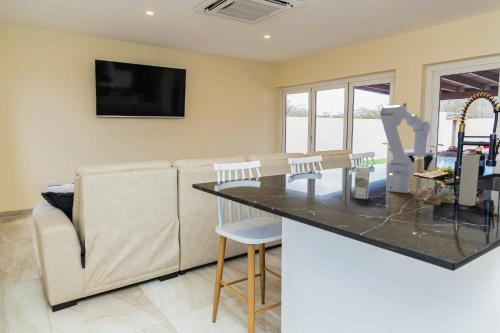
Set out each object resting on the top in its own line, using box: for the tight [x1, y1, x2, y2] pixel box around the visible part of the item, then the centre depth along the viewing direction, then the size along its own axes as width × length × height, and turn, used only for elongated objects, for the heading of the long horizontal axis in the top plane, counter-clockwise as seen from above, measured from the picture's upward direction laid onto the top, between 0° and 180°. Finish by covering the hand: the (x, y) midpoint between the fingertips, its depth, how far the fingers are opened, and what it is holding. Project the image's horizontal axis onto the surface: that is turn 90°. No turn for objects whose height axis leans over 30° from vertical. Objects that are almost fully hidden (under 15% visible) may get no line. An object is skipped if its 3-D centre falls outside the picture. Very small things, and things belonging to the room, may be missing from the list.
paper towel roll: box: [458, 153, 481, 207], centre depth 144 cm, size 7×6×21 cm
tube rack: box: [412, 186, 457, 204], centre depth 157 cm, size 16×13×4 cm
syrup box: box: [353, 165, 371, 200], centre depth 156 cm, size 6×6×14 cm
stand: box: [422, 197, 442, 206], centre depth 148 cm, size 6×6×2 cm
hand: (418, 170), depth 180 cm, fingers open, 7 cm apart
